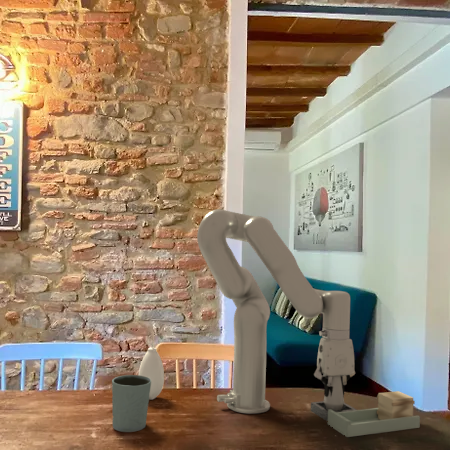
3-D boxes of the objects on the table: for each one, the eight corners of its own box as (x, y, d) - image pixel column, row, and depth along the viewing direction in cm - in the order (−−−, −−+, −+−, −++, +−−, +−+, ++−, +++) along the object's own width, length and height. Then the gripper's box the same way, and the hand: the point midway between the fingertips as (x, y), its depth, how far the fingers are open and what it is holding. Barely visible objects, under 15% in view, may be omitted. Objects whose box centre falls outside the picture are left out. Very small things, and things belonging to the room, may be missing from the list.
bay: (346, 437, 133) (347, 421, 133) (327, 424, 142) (328, 409, 142) (419, 427, 142) (419, 412, 142) (397, 416, 150) (397, 402, 150)
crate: (392, 426, 140) (393, 400, 140) (376, 417, 146) (377, 392, 146) (414, 423, 143) (414, 398, 143) (397, 415, 149) (398, 390, 149)
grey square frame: (328, 422, 143) (328, 413, 143) (310, 411, 152) (311, 402, 152) (357, 419, 147) (357, 410, 147) (338, 408, 156) (338, 399, 156)
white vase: (141, 393, 163) (143, 336, 163) (166, 395, 162) (168, 337, 162) (134, 401, 155) (136, 341, 156) (159, 403, 154) (161, 342, 155)
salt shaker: (344, 413, 146) (345, 367, 146) (323, 411, 147) (324, 365, 147) (343, 406, 152) (345, 362, 152) (323, 405, 153) (325, 360, 153)
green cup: (107, 421, 139) (108, 376, 139) (144, 417, 143) (145, 373, 143) (114, 435, 130) (116, 387, 130) (154, 430, 134) (155, 383, 134)
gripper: (318, 338, 143) (316, 405, 143) (367, 335, 149) (365, 400, 149) (304, 333, 150) (302, 397, 150) (352, 330, 156) (350, 392, 156)
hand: (334, 397), depth 150 cm, fingers closed on salt shaker, 3 cm apart
